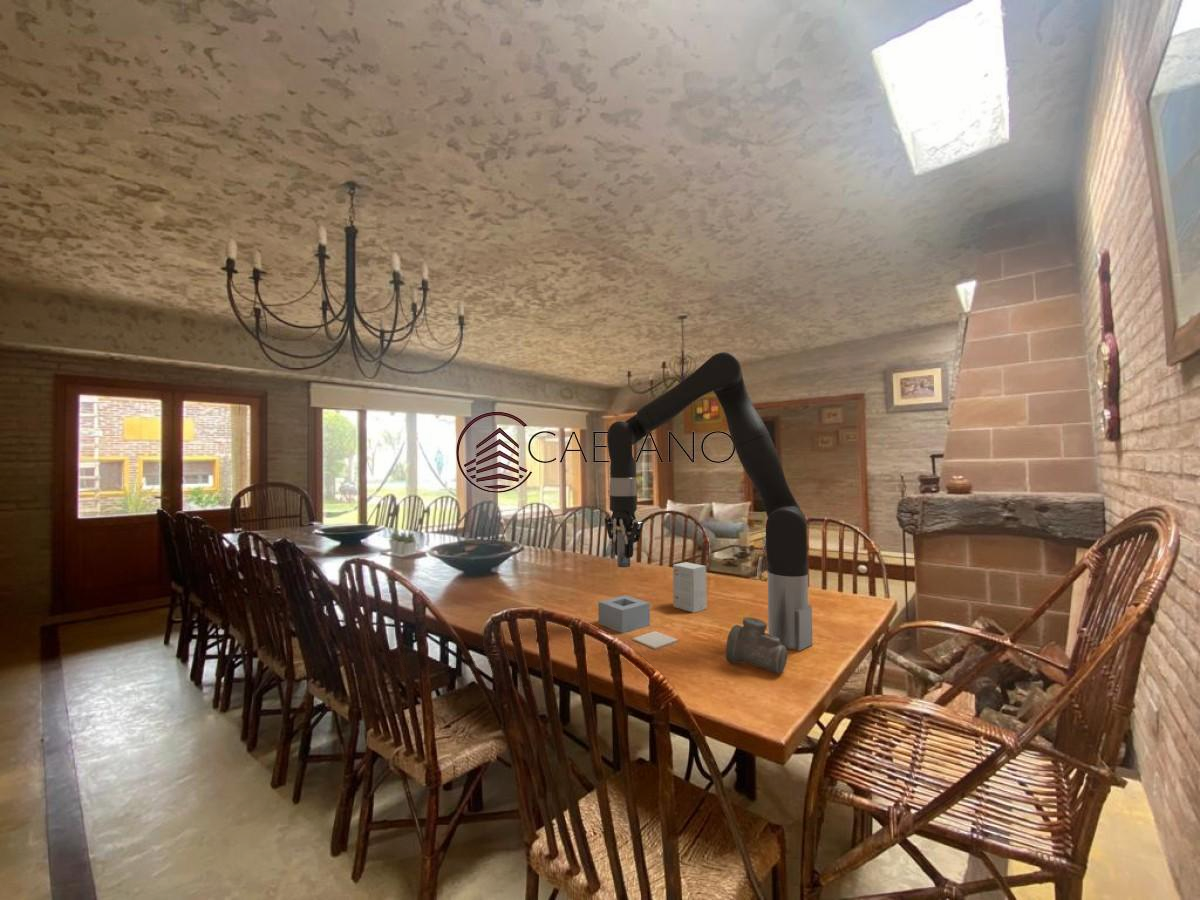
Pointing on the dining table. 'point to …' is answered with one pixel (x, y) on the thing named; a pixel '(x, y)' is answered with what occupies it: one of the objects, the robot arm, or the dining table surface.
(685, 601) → the small box
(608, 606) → the block
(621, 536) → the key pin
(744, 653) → the pipe fitting
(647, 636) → the coaster
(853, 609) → the dining table surface
